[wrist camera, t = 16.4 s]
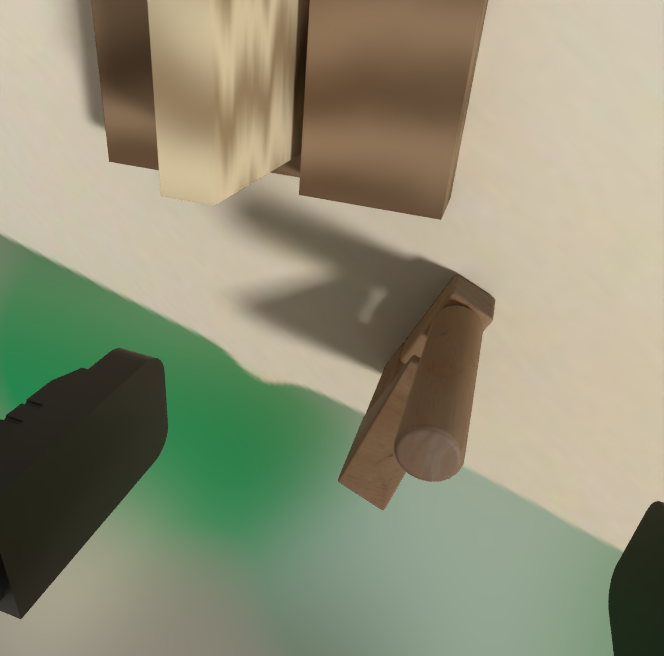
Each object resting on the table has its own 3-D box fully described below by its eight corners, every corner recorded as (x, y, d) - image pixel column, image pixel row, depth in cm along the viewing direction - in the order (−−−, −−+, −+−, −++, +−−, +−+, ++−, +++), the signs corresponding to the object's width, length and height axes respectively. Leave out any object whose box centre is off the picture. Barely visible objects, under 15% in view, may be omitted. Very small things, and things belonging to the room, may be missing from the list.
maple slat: (269, -16, 36) (145, -32, 24) (314, -12, 36) (208, -27, 24) (265, 145, 41) (160, 196, 29) (305, 151, 41) (213, 205, 29)
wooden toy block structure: (383, 367, 48) (317, 527, 33) (456, 271, 42) (417, 411, 27) (419, 391, 48) (370, 561, 33) (497, 298, 42) (481, 453, 27)
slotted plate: (131, -65, 38) (83, -76, 34) (495, -37, 33) (490, -45, 29) (148, 148, 45) (109, 161, 41) (450, 198, 40) (441, 219, 36)
